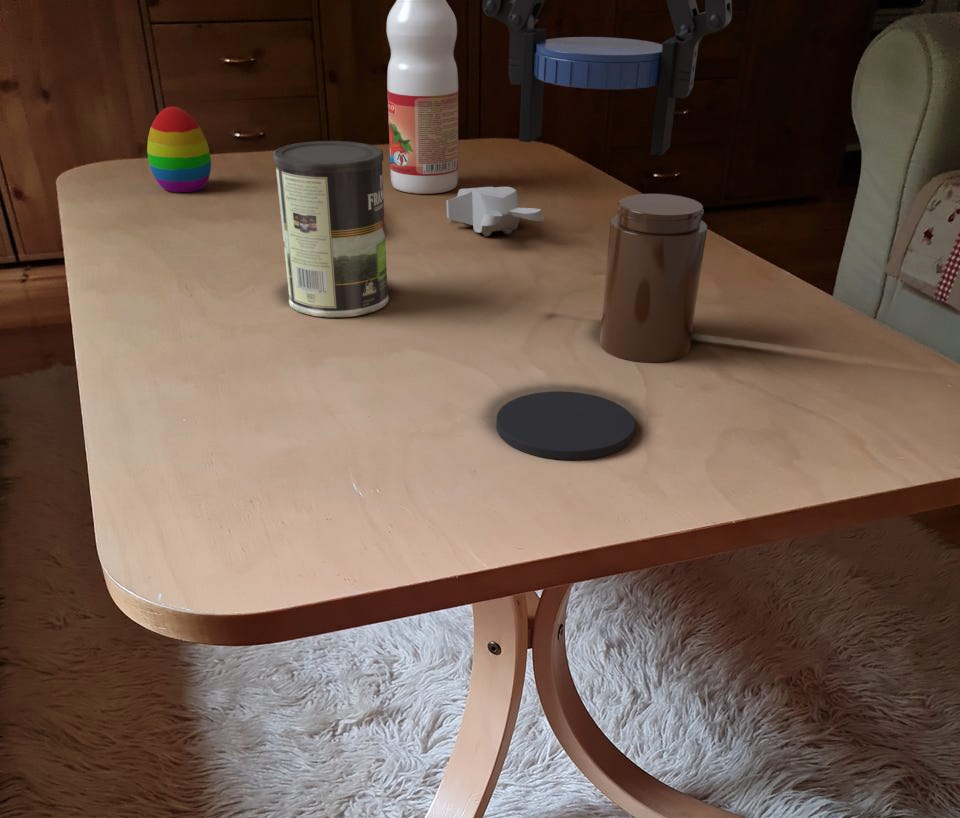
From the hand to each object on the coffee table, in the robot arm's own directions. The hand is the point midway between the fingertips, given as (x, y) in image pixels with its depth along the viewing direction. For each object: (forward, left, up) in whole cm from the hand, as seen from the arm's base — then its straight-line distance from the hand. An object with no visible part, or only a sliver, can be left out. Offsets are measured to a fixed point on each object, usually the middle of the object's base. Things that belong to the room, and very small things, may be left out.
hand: (594, 144), depth 70 cm
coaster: (0, +2, -20) cm, 20 cm away
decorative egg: (+70, -51, -21) cm, 89 cm away
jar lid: (0, 0, +6) cm, 6 cm away
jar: (-2, -18, -20) cm, 27 cm away
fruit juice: (+40, -65, -21) cm, 79 cm away
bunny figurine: (+24, -48, -21) cm, 57 cm away
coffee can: (+30, -18, -21) cm, 41 cm away
